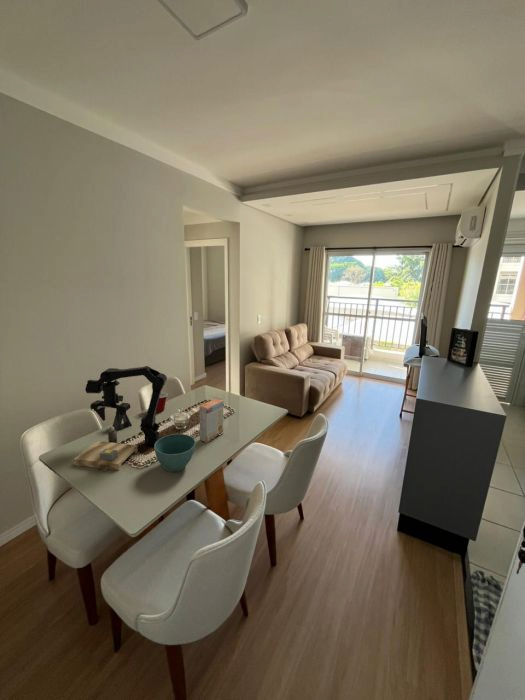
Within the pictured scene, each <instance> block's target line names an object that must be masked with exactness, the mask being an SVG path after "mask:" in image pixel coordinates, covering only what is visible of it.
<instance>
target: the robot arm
mask: <svg viewBox="0 0 525 700" xmlns="http://www.w3.org/2000/svg"><path fill="white" fill-rule="evenodd" d="M99 376H100V377H99V379H98V380H97V379H96V380H95V379H89V380H87V383H86V384H85V389H84V390H85V393H86V394H101V392H102V396H101V399H102V400H97V399H96V400H95V401H93V402H92V403H90V406H89V407H90V408H89V409H90V410H93V411H94V412H95V413H96V414H97V415H98V416H99V418H100V419H101V420H102V421H103V422H104V421H105V420H106V411H105V410H106V408H109V409H116V408H117V412H116V411H115V415H116V416H117V421H118V422H120V420H121V417H122V414H123V412H126V413H127V411H128V410H130V409H131V404H130V403H129V402H123V401H124V395H120V394H118V393H117V391H116V390H117V389H116V388H117V387H118V386H119V385H120V384H121V383H120V382H119V381H118V380H119V379H122V378H123V379H124V378H131V377H141V376H143V377H145V378H146V380H148V381H149V382H150V383H152V384H151V389H152V393H151V394H152V396H151V395H150V401H149V405H148V408H147V413H146V414H144V415H143V416H142V418H141V420H140V425H139V427H140V430H141V432H142V433H143V434H144V447H149V448H151V447H153V448H155V443H156V442H157V441H158V440H159V439H160V432H159V429H160V425H159V424H158V423H157V422H156V413H157V412H156V409H157V405H158V401H159V397H160V394H161V392H162V390H163V388H164V386H165V385H166V382H167V381H168V377H167V375H166V374H164V373H161V372H160V371H158V370H156V369H154V368H151V367H150V366H149V365H144V366H141V367H139V366H138V367H130V368H121V369H120V368H116V367H115V368H114V367H113V368H112V367H111V368H110V367H109V368H107V369H105V370H103V371H102V372H101V373H100V375H99ZM120 402H121V403H120Z"/></svg>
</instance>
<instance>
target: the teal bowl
mask: <svg viewBox="0 0 525 700" xmlns="http://www.w3.org/2000/svg"><path fill="white" fill-rule="evenodd" d="M195 448H196V440H195V439H194V437H193V436H191V435H188V434H184V433H183V434H182V433H172V434H169V435H168V434H167V435H165V436H163V437H161V438H159V440H158V441H157V442H156V443H155V447H154V453H155V455H156V459H157V460H158V463H159V464H160V466H161V467H162V468H164V469H165V470H166V471H167V472H170V473H176V472H180V471H182V470H183V469H184V468H185V467H186V466H187V465H188V464H189V463H190V461H191V459H192V457H193V455H194V452H195Z"/></svg>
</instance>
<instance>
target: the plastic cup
mask: <svg viewBox="0 0 525 700" xmlns="http://www.w3.org/2000/svg"><path fill="white" fill-rule="evenodd" d="M151 396H152V393H151V394H150V397H151ZM167 398H168V393H167V392H162V391H161V394H160V397H159V401H158V405H157V409H156V413H163V412H164V411H165V408H166V401H167Z"/></svg>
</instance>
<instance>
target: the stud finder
mask: <svg viewBox="0 0 525 700" xmlns="http://www.w3.org/2000/svg"><path fill="white" fill-rule="evenodd" d="M117 456H118V455H117V450H111V449H105V450H103V451H102V452H101V453H100V459H101V460H110V461H113V460H114V459H115V458H116V457H117Z"/></svg>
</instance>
